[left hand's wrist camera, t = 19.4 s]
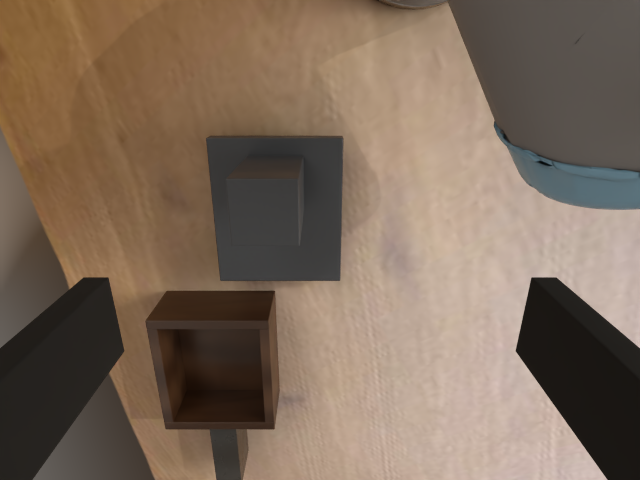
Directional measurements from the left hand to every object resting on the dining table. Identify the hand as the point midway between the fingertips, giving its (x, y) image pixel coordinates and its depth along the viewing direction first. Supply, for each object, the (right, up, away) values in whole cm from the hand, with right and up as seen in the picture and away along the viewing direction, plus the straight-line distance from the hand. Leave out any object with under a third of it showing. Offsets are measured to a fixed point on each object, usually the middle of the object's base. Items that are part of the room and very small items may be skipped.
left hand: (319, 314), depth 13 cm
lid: (-4, +6, +28) cm, 29 cm away
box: (-11, -14, +37) cm, 41 cm away
